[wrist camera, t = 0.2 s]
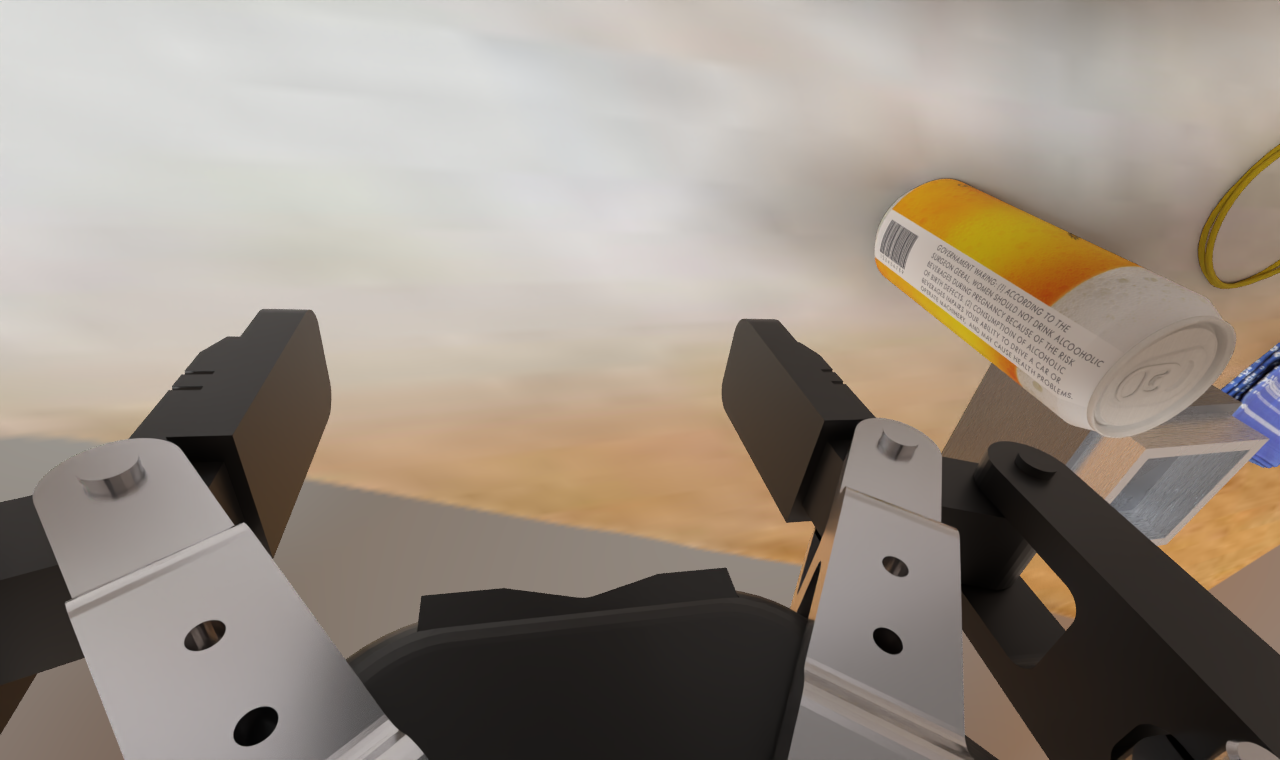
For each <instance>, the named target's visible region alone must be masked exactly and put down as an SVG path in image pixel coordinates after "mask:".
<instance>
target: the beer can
mask: <svg viewBox="0 0 1280 760" xmlns="http://www.w3.org/2000/svg"><path fill="white" fill-rule="evenodd" d="M874 255H875V262H876V265H877V267H878V269H879V271H880V272H881V274H882V275H883V276H884V277H885V278H887V279H888V280H889V281H890V282H892V283H893V284H894V285H895V286H897V287H898V288H899V289H900V290H902V291H903V292H904V293H905V294H907V295H908V296H909V297H910V298H912V299H913V300H914V301H915V302H917V303H918V304H919V305H920V306H922V307H923V308H924V309H925V310H927V311H928V312H929V313H930V314H932V315H933V316H934V317H935V318H937V319H938V320H939V321H940V322H942V323H943V324H944V325H945V326H947V327H948V328H949V329H950V330H952V331H953V332H954V333H955V334H957V335H958V336H959V337H960V338H962V339H963V340H964V341H965V342H967V343H968V344H969V345H970V346H972V347H973V348H974V349H975V350H977V351H978V352H979V353H980V354H982V355H983V356H984V357H985V358H987V359H988V360H989V361H990V362H992V363H993V364H994V365H995V366H997V367H998V368H999V369H1000V370H1002V371H1003V372H1004V373H1005V374H1007V375H1008V376H1009V377H1010V378H1012V379H1013V380H1014V381H1015V382H1017V383H1018V384H1019V385H1020V386H1022V387H1023V388H1024V389H1025V390H1027V391H1028V392H1029V393H1030V394H1032V395H1033V396H1034V397H1035V398H1037V399H1038V400H1039V401H1040V402H1042V403H1043V404H1044V405H1045V406H1047V407H1048V408H1049V409H1050V410H1052V411H1053V412H1054V413H1055V414H1057V415H1058V416H1059V417H1060V418H1062V419H1063V420H1064V421H1065V422H1067V423H1069V424H1070V425H1073V426H1076V427H1080V428H1084V429H1088V430H1092V431H1096V432H1097V433H1099V434H1100V435H1102V436H1105V437H1109V438H1123V437H1129V436H1133V435H1137V434H1140V433H1142V432H1145V431H1148V430H1150V429H1152V428H1154V427H1156V426H1158V425H1160V424H1162V423H1164V422H1166V421H1168V420H1169V419H1171V418H1172V417H1174V416H1176V415H1177V414H1179V413H1180V412H1182V411H1183V410H1184V409H1186V408H1187V407H1188V406H1190V405H1191V404H1192V403H1193V402H1194V401H1196V400H1197V399H1198V398H1199V397H1200V396H1201V395H1202V394H1203V393H1204V392H1205V391H1206V390H1207V389H1208V388H1209V387H1210V386H1211V385H1212V384H1213V383H1214V382H1215V381H1216V380H1217V378H1218V377H1219V376H1220V375H1221V373H1222V372H1223V370H1224V369H1225V367H1226V366H1227V364H1228V362H1229V361H1230V359H1231V357H1232V354H1233V352H1234V349H1235V344H1236V333H1235V330H1234V328H1233V327H1232V326H1231V325H1230V324H1229V323H1228V322H1226V321H1224V320H1223V319H1222V317H1221V316H1220V314H1219V313H1218V311H1217V310H1216V308H1215V307H1214V305H1213V304H1212V302H1211V301H1210V300H1209V299H1208V298H1206V297H1204V296H1203V295H1201V294H1198V293H1196V292H1194V291H1192V290H1190V289H1188V288H1186V287H1184V286H1181V285H1179V284H1177V283H1175V282H1173V281H1171V280H1169V279H1167V278H1164V277H1162V276H1160V275H1158V274H1156V273H1154V272H1152V271H1150V270H1147V269H1145V268H1143V267H1141V266H1139V265H1137V264H1135V263H1133V262H1130V261H1128V260H1126V259H1124V258H1122V257H1120V256H1118V255H1116V254H1113V253H1111V252H1109V251H1107V250H1105V249H1103V248H1101V247H1099V246H1096V245H1094V244H1092V243H1090V242H1088V241H1086V240H1084V239H1082V238H1079V237H1077V236H1075V235H1073V234H1071V233H1069V232H1067V231H1065V230H1062V229H1060V228H1058V227H1056V226H1054V225H1052V224H1050V223H1048V222H1045V221H1043V220H1041V219H1039V218H1037V217H1035V216H1033V215H1031V214H1028V213H1026V212H1024V211H1022V210H1020V209H1018V208H1016V207H1014V206H1011V205H1009V204H1007V203H1005V202H1003V201H1001V200H999V199H997V198H994V197H992V196H990V195H988V194H986V193H984V192H982V191H980V190H977V189H975V188H973V187H971V186H969V185H967V184H965V183H963V182H960V181H958V180H954V179H938V180H933V181H930V182H927V183H925V184H922V185H920V186H918V187H917V188H914V189H912V190H910V191H909V192H907V193H906V194H904V195H903V196H901V197H900V198H899V199H898V200H897V201H896V202H895V203H894V204H893V205H892V206H891V207H890V208H889V209H888V211H887V212H886V214H885V215H884V217H883V219H882V220H881V222H880V225H879V227H878V230H877V234H876V242H875V249H874Z"/></svg>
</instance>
